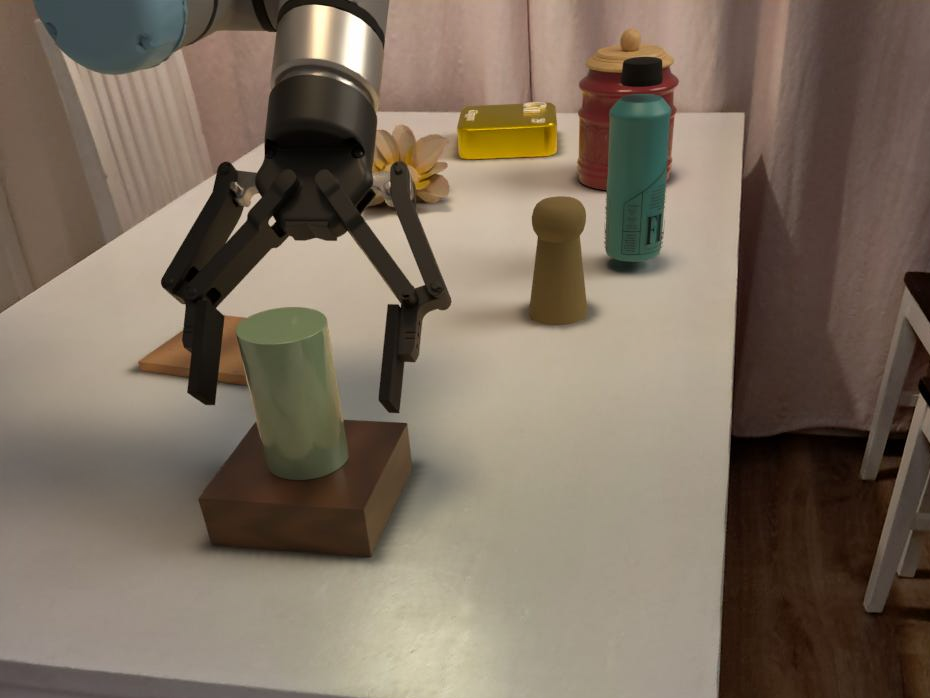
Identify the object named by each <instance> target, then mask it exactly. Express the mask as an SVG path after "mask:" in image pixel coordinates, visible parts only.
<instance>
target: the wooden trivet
mask: <svg viewBox="0 0 930 698" xmlns="http://www.w3.org/2000/svg"><path fill="white" fill-rule="evenodd" d="M223 315H224V316H225V317H224V327H223V336H222V345H221V354H220V364H219V373H218V382H220V383H226V384H234V385H242V386H248V384H247V380H246V375H245V371H244V367H243V362H242V358H241V354H240V349H239V345H238V341H237V336H236V327H237V326H238V324H239V323H240V322H241V321H243V320H244V319H246V318H247V317H245V316H244V317H243V316H234V315H227V314H223ZM182 336H183V330H181V331H180V332H178V333H177V334H175V335H174V336H173V337H171V338H169V339H168V340H167V341H165V342H164V343H162V344H161V345H159V346H158V347H156V349H154V350H152V351H151V352H150V353H148V354H146V355H145V356H143V357H142V358H141V359H140V360H138V361H137V363H138V366H139V370H140V371H141V372H148V373H156V374H161V375H170V376H177V377H182V378H184V377H185V378H189V371H190V361H191V353H190V352H189V351H188V350H186V349H185V348H184V346H183V342H182Z"/></svg>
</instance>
